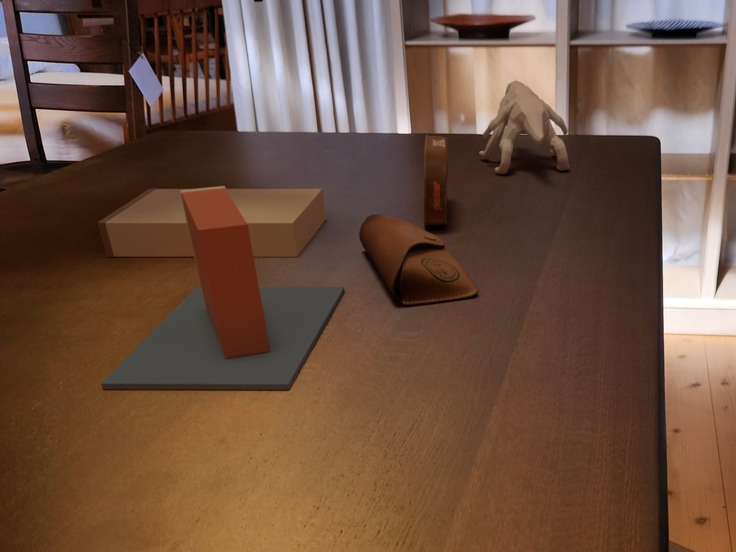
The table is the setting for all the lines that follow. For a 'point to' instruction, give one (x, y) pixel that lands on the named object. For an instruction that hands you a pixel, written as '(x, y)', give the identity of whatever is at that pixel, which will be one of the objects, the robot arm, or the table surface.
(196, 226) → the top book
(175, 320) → the mat
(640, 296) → the table surface
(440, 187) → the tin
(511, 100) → the beige creature figurine
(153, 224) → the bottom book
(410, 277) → the sunglasses case
